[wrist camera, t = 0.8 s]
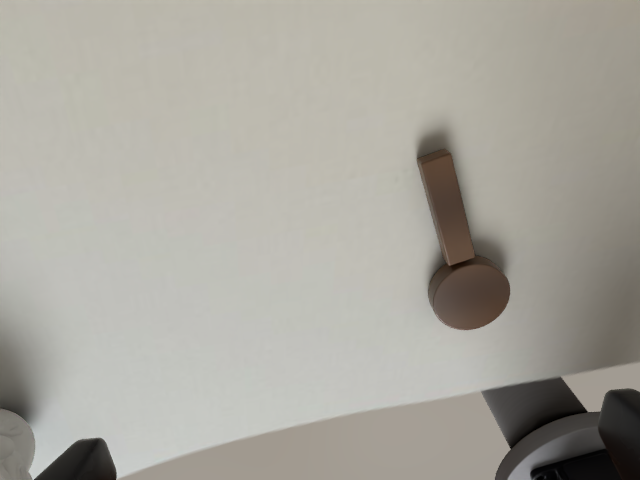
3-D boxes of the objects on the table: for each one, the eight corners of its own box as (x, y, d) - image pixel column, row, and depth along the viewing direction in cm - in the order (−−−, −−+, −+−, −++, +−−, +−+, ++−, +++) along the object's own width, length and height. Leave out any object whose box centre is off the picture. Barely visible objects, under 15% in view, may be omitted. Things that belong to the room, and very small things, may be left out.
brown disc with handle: (508, 305, 24) (516, 316, 24) (437, 328, 25) (442, 339, 24) (472, 137, 20) (481, 142, 19) (389, 167, 21) (393, 174, 20)
